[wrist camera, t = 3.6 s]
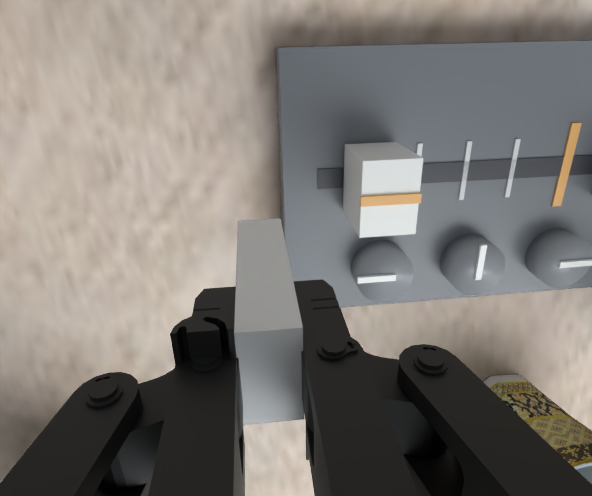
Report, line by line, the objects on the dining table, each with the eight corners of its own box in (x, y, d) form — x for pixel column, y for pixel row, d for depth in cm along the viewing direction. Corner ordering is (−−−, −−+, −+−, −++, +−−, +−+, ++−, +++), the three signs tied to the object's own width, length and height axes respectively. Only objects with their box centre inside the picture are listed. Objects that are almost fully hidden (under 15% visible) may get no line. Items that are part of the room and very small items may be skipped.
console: (284, 296, 31) (290, 329, 27) (276, 47, 24) (282, 47, 20) (598, 271, 33) (642, 299, 30) (670, 38, 26) (739, 37, 23)
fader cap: (342, 211, 26) (359, 238, 22) (343, 144, 24) (362, 161, 21) (392, 208, 26) (417, 234, 23) (397, 141, 25) (425, 158, 21)
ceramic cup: (452, 360, 35) (525, 468, 26) (565, 354, 36) (672, 455, 27) (426, 471, 41) (479, 592, 32) (525, 463, 42) (604, 578, 33)
